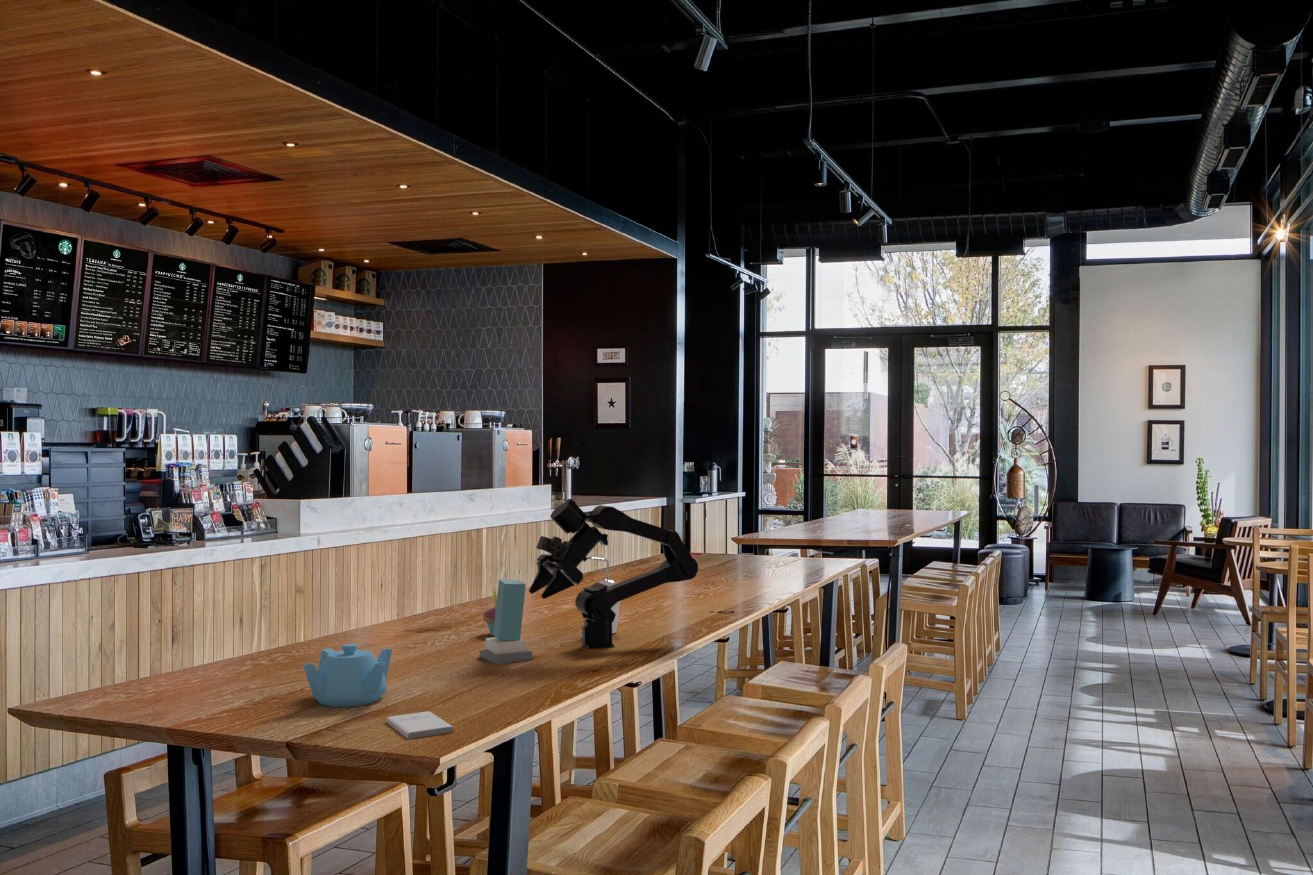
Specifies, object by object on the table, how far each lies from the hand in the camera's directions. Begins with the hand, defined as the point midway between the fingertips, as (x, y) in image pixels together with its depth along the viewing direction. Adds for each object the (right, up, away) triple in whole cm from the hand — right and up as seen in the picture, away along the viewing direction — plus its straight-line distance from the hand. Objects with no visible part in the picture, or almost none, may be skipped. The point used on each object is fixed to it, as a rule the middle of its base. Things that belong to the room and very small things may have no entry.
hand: (536, 595), depth 254 cm
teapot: (-31, -14, -47) cm, 58 cm away
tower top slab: (-6, -12, -8) cm, 15 cm away
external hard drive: (-13, -14, -67) cm, 69 cm away
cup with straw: (+16, -14, +25) cm, 32 cm away
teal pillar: (-6, -9, -7) cm, 13 cm away
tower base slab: (-6, -14, -8) cm, 17 cm away
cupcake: (-12, -14, +23) cm, 29 cm away
